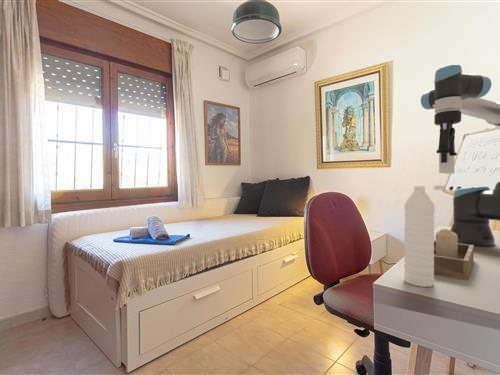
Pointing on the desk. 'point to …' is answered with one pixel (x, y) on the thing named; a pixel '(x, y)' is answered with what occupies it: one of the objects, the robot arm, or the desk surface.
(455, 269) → the walnut box
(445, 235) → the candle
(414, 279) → the water bottle
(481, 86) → the robot arm
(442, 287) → the desk surface
